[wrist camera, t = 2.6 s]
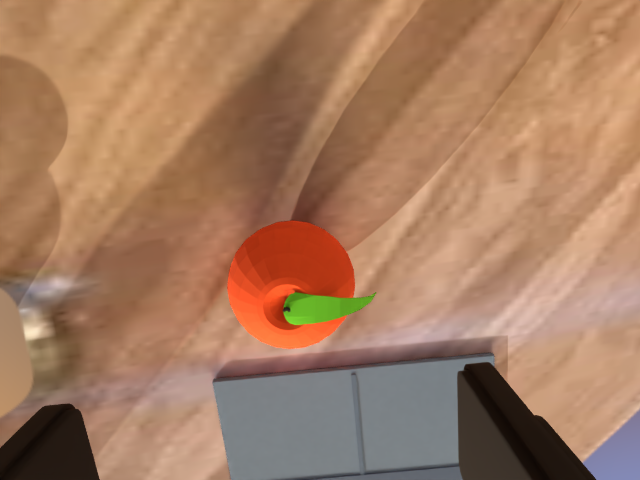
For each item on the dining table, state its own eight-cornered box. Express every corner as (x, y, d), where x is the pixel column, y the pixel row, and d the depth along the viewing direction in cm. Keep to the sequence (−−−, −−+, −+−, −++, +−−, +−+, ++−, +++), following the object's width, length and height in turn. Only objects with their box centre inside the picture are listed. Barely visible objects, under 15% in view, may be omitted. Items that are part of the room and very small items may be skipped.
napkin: (492, 352, 27) (495, 356, 26) (491, 473, 29) (494, 479, 29) (213, 378, 27) (211, 382, 27) (236, 496, 30) (234, 502, 29)
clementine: (369, 212, 24) (390, 240, 18) (363, 316, 26) (380, 379, 19) (238, 208, 24) (208, 236, 17) (241, 313, 26) (214, 376, 19)
